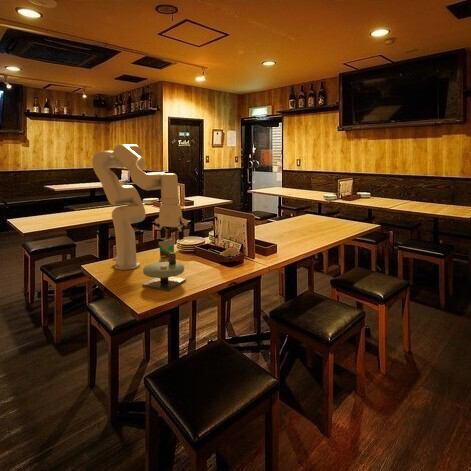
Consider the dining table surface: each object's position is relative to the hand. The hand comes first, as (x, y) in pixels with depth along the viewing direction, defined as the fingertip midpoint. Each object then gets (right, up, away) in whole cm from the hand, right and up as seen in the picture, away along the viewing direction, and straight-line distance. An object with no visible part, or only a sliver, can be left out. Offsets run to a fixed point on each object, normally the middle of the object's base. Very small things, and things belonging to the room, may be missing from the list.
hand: (172, 238), depth 168 cm
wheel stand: (-3, -20, -1) cm, 21 cm away
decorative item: (+26, -13, +32) cm, 43 cm away
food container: (-8, -11, +40) cm, 42 cm away
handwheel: (-3, -15, -3) cm, 15 cm away
